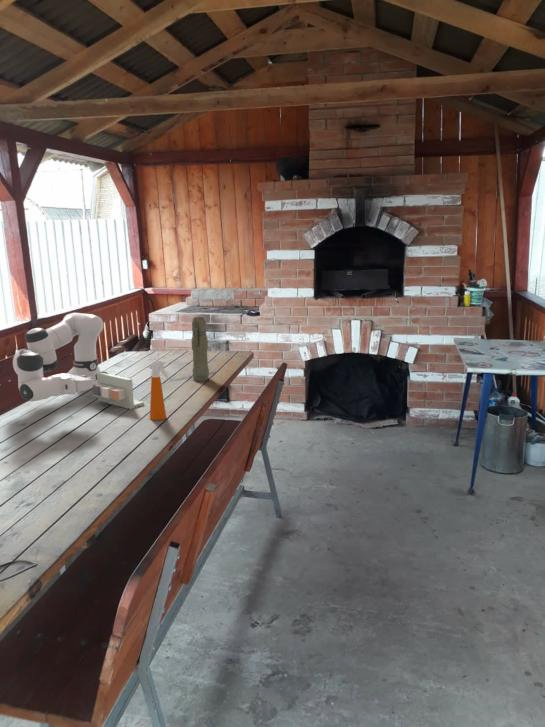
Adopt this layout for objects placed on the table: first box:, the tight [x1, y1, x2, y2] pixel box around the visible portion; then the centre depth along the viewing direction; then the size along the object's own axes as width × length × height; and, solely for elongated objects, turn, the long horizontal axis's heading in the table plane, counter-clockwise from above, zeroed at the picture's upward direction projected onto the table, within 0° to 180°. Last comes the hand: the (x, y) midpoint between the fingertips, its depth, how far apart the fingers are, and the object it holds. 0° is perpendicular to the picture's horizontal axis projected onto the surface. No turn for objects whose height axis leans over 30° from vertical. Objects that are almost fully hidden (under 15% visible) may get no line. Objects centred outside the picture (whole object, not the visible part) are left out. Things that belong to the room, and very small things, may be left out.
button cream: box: [101, 385, 116, 398], centre depth 261 cm, size 5×9×5 cm, turn 143°
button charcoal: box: [91, 383, 107, 396], centre depth 265 cm, size 5×9×5 cm, turn 143°
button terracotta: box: [111, 388, 126, 401], centre depth 257 cm, size 5×9×5 cm, turn 143°
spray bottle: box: [148, 360, 170, 421], centre depth 239 cm, size 7×11×26 cm, turn 58°
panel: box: [97, 371, 145, 410], centre depth 265 cm, size 24×8×14 cm, turn 53°
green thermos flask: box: [191, 316, 210, 382], centre depth 305 cm, size 9×12×35 cm
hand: (89, 377), depth 242 cm, fingers open, 3 cm apart
